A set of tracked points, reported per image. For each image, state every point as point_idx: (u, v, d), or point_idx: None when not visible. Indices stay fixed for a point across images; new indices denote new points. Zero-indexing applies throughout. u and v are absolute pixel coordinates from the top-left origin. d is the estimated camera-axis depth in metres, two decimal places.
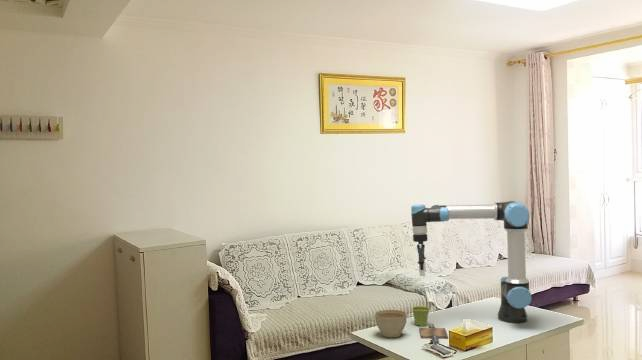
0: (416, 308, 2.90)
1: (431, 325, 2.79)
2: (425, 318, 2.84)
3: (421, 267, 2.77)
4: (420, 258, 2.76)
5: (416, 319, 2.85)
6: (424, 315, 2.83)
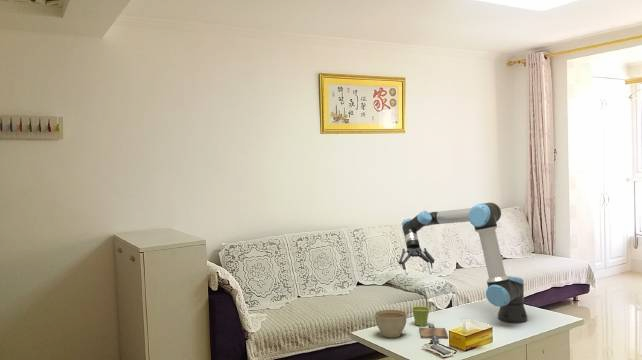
0: (416, 308, 2.90)
1: (431, 325, 2.79)
2: (425, 318, 2.84)
3: None
4: (399, 260, 3.05)
5: (416, 319, 2.85)
6: (424, 315, 2.83)
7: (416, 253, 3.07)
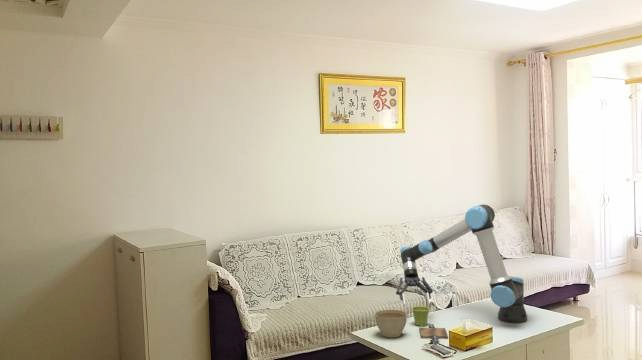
0: (416, 308, 2.90)
1: (431, 325, 2.79)
2: (425, 318, 2.84)
3: (400, 297, 2.94)
4: (397, 290, 2.98)
5: (416, 319, 2.85)
6: (424, 315, 2.83)
7: (414, 283, 2.99)
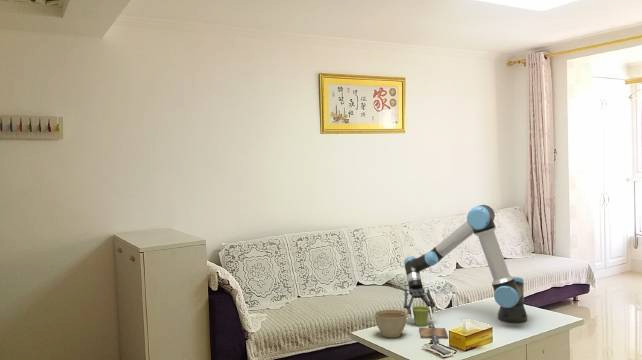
0: (416, 308, 2.90)
1: (431, 325, 2.79)
2: (425, 318, 2.84)
3: (408, 311, 2.87)
4: (404, 304, 2.90)
5: (416, 319, 2.85)
6: (424, 315, 2.83)
7: (419, 294, 2.92)
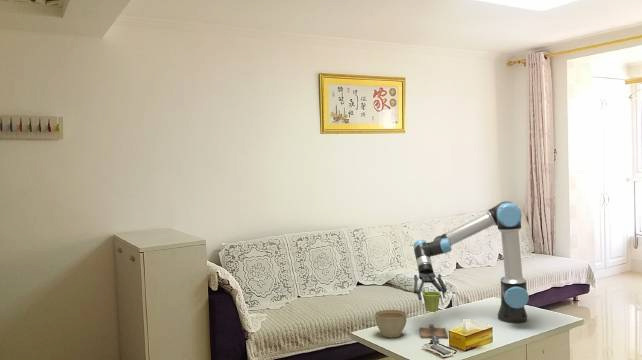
0: (426, 293, 2.74)
1: (431, 325, 2.79)
2: (436, 304, 2.68)
3: (418, 297, 2.71)
4: (414, 289, 2.74)
5: (427, 305, 2.69)
6: (435, 300, 2.67)
7: (429, 279, 2.76)
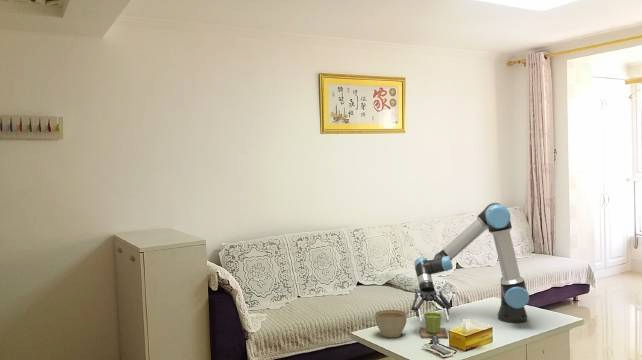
0: (428, 314, 2.74)
1: None
2: (437, 325, 2.67)
3: (416, 313, 2.71)
4: (412, 305, 2.74)
5: (428, 326, 2.68)
6: (436, 322, 2.67)
7: (430, 297, 2.76)
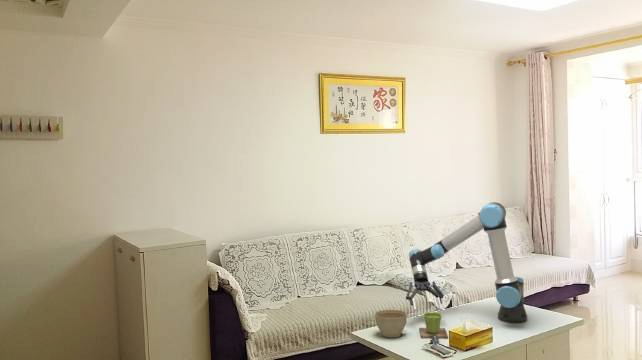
0: (428, 314, 2.74)
1: None
2: (437, 325, 2.67)
3: (410, 302, 2.83)
4: None
5: (428, 326, 2.68)
6: (436, 322, 2.67)
7: (424, 287, 2.88)
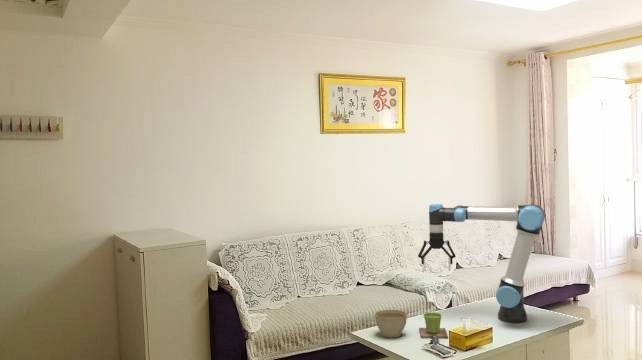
0: (428, 314, 2.74)
1: None
2: (437, 325, 2.67)
3: (421, 261, 2.98)
4: (419, 253, 2.98)
5: (428, 326, 2.68)
6: (436, 322, 2.67)
7: (438, 247, 2.95)
